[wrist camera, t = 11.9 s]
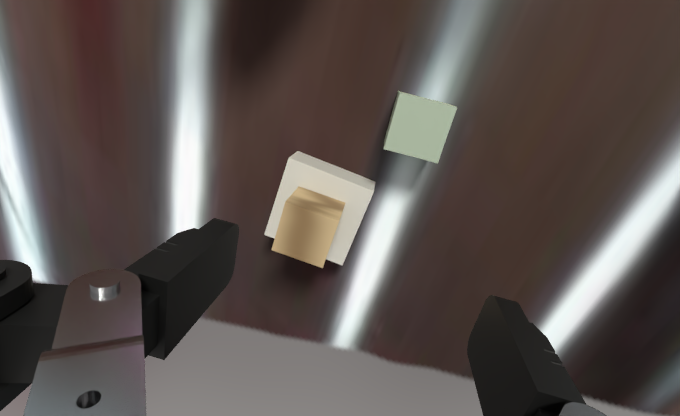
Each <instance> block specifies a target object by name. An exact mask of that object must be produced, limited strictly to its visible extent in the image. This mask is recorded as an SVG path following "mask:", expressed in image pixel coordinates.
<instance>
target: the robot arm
mask: <svg viewBox="0 0 680 416" xmlns="http://www.w3.org/2000/svg"><path fill="white" fill-rule="evenodd" d="M238 235H239V227H238V225H237V224H234V223H231V222H227V221H223V220H220V219H216V218H214V219H212V220H211V221H209V222H208V223H207V224H205V225H204V226H203V227H201V228H200V229H195V228H193V229H190V230H186V231H183V232H180V233H177V234H176V235H174V236H173V237H171V238H170V239H168V240H167V241H166V243H165V242H164V243H163V244H161V245H160V246H158V247H157V249H154V250H152V251H151V252H149V253H148V254H147V255H145V256H144V257H142V258H141V259H139V260H138V261H136V262H135V263H133V264H132V265H130V266H129V267H127V268H126V269H125V270H120V269H104V270H98V271H93V272H90V273H87V274H84V275H82V276H80V277H78V278H76V279H75V280H73V281H72V282H71V283H70V284H69V285H55V284H38V283H33V280H32V272H31V269H30V267H29V266H28V265H26V264H24V263H22V262H18V261H12V260H0V411H1V410H2V409H3V408H4V407H6V406H7V405H8V404H9V403H10V402H11V401H12V400H13V399H15V398H16V397H17V396H18V395H19V394H20V393H21V392H22V391H24V390H25V389H26V388H27V387H28V386H29V385H30V384H31V383H32V386H31V389H30V393H29V397H28V400H27V404H26V408H25V411H24V415H23V416H146V390H145V360H144V359H145V358H146V357H147V356H148V355H150V356H153V357H156V358H160V359H163V360H165V358H166V357H167V356H168V355H169V353H170V352H171V351H172V350H173V349H174V347H175V346H176V345H177V344H178V343H179V342H180V340H181V339H182V338H183V337H184V336H185V335H186V333H187V332H188V331H189V330H190V329H191V327H192V326H193V325H194V324H195V323H196V322H197V320H198V319H199V318H200V317H201V316H202V314H203V313H204V312H205V311H206V310H207V309H208V307H209V306H210V305H211V304H212V303H213V301H214V300H215V299H216V298H217V297H218V295H219V294H220V293H221V292H222V291H223V290H224V288H225V287H226V286H227V285H228V283H229V281H230V279H231V277H232V274H233V271H234V266H235V258H236V251H237V243H238ZM467 351H468V358H469V362H470V366H471V370H472V374H473V377H474V381H475V385H476V389H477V393H478V397H479V401H480V404H481V408H482V412H483V416H606V415H605V414H603V413H602V412H600V411H598V410H596V409H595V408H593V407H590V406H588V405H586V403H585V401H584V400H583V398H582V396H581V394H580V393H579V391H578V389H577V388H576V386H575V384H574V383H573V381H572V379H571V378H570V376H569V374H568V372H567V371H566V369H565V367H563V366H562V362H561V361H560V359H559V357H558V355H557V354H555V350H554V349H553V347H552V345H551V344H550V342H549V340H548V339H547V337H546V336H545V335H544V334H543V333H542V332H541V331H540V330H539V329H538V328H537V327H536V326H535V325H534V324H533V323H529V321H528V319H527V318H526V316H525V314H524V312H523V310H522V309H521V307H520V305H519V304H518V303H517V302H515V301H511V300H507V299H504V298H500V297H497V296H493V295H491V296H489V297H488V298H487V299H486V301H485V303H484V305H483V308H482V310H481V312H480V314H479V316H478V319H477V321H476V323H475V325H474V327H473V330H472V332H471V334H470V337H469V341H468V349H467Z"/></svg>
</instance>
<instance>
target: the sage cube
mask: <svg viewBox="0 0 680 416" xmlns="http://www.w3.org/2000/svg"><path fill="white" fill-rule="evenodd" d="M456 109H457V107H455V106H452V105H450V104H446V103H443V102H439V101H435V100H431V99H427V98H423V97H419V96H415V95H411V94H408V93H404V92H400V91H398V93H397V97H396V100H395V104H394V108H393V111H392V115H391V118H390V122H389V125H388V129H387V132H386V136H385V139H384V149H385V150H389V151H393V152H396V153H400V154H404V155H408V156H412V157H415V158H419V159H423V160H427V161H431V162H434V163H438V161H439V158H440V155H441V152H442V149H443V146H444V144H445V141H446V138H447V135H448V132H449V129H450V126H451V124H452V121H453V118H454V115H455V112H456Z"/></svg>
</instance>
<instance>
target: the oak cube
mask: <svg viewBox="0 0 680 416" xmlns="http://www.w3.org/2000/svg"><path fill="white" fill-rule="evenodd" d="M344 206H345V202H342V201H339V200H336V199H334V198H331V197H328V196H325V195H322V194H319V193H317V192H314V191H311V190H308V189H305V188H302V187H300V186H299V187H298V188H297V189H296V190H295V191H294V192H293V193H292V195H291V196H290V197H289V198H288V199H287V200H286V202H285V204H284V208H283V211H282V215H281V218H280V222H279V225H278V229H277V232H276V236H275V239H274V243H273V246H272V250H273V251H276V252H278V253H281V254H284V255H287V256H290V257H292V258H295V259H298V260H301V261H304V262H307V263H309V264H312V265H315V266H318V267H321V268H323V266H324V263H325V260H326V257H327V254H328V252H329V249H330V246H331V243H332V240H333V237H334V235H335V232H336V229H337V226H338V223H339V221H340V218H341V215H342V212H343V209H344Z"/></svg>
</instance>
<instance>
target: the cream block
mask: <svg viewBox="0 0 680 416" xmlns="http://www.w3.org/2000/svg"><path fill="white" fill-rule="evenodd" d="M299 186H300V187H302V188H305V189H308V190H311V191H314V192H317V193H319V194H322V195H325V196H328V197H331V198H334V199H336V200H339V201H342V202H345V206H344V209H343V212H342V215H341V218H340V221H339V223H338V226H337V229H336V232H335V235H334V237H333V240H332V243H331V246H330V249H329V252H328V254H327V257H326V259H327V260H329V261H332V262H334V263H337V264H340V265H343V263H344V260H345V258H346V256H347V253H348V251H349V249H350V246H351V244H352V242H353V239H354V237H355V235H356V232H357V230H358V228H359V225H360V223H361V221H362V218H363V216H364V214H365V211H366V209H367V207H368V204H369V202H370V200H371V197H372V195H373V193H374V188H375V181H372V180H370V179H367V178H365V177H362V176H360V175H357V174H355V173H352V172H350V171H347V170H345V169H342V168H339V167H337V166H334V165H332V164H329V163H327V162H324V161H322V160H319V159H317V158H314V157H312V156H309V155H307V154H304V153H301V152H299V151H297V152H296V153H294V154H293V155H292V156H290V157H289V159H288V162H287V165H286V168H285V171H284V174H283V178H282V181H281V184H280V187H279V190H278V193H277V196H276V200H275V203H274V206H273V209H272V212H271V215H270V218H269V222H268V225H267V228H266V231H265V234H264V235H266V236H269V237H271V238H274V239H275V236H276V232H277V229H278V225H279V222H280V218H281V215H282V211H283V208H284V204H285V202H286V200H287V199H288V198H289V197H290V196H291V195H292V193H293V192H294V191H295V190H296V189H297V188H298V187H299Z"/></svg>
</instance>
